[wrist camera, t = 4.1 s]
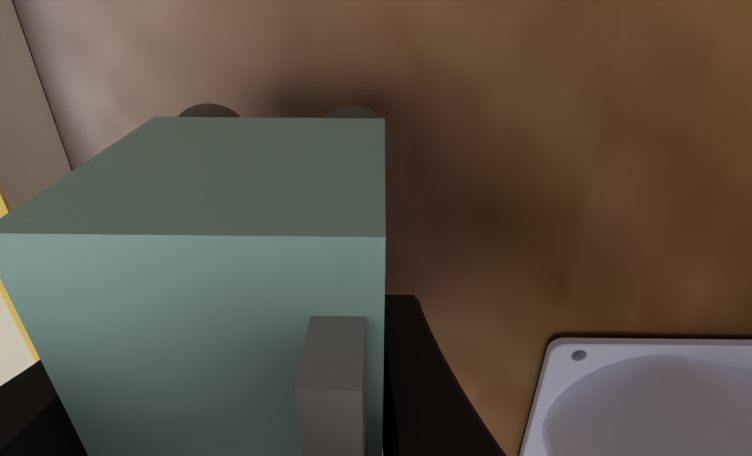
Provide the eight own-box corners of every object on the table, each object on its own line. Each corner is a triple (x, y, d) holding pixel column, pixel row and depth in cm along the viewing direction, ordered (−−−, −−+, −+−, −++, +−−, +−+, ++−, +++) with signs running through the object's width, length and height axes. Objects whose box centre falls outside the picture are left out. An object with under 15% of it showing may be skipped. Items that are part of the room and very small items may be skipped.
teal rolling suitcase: (394, 95, 9) (410, 303, 4) (388, 374, 13) (391, 685, 8) (179, 94, 9) (-145, 296, 4) (236, 372, 13) (125, 679, 8)
